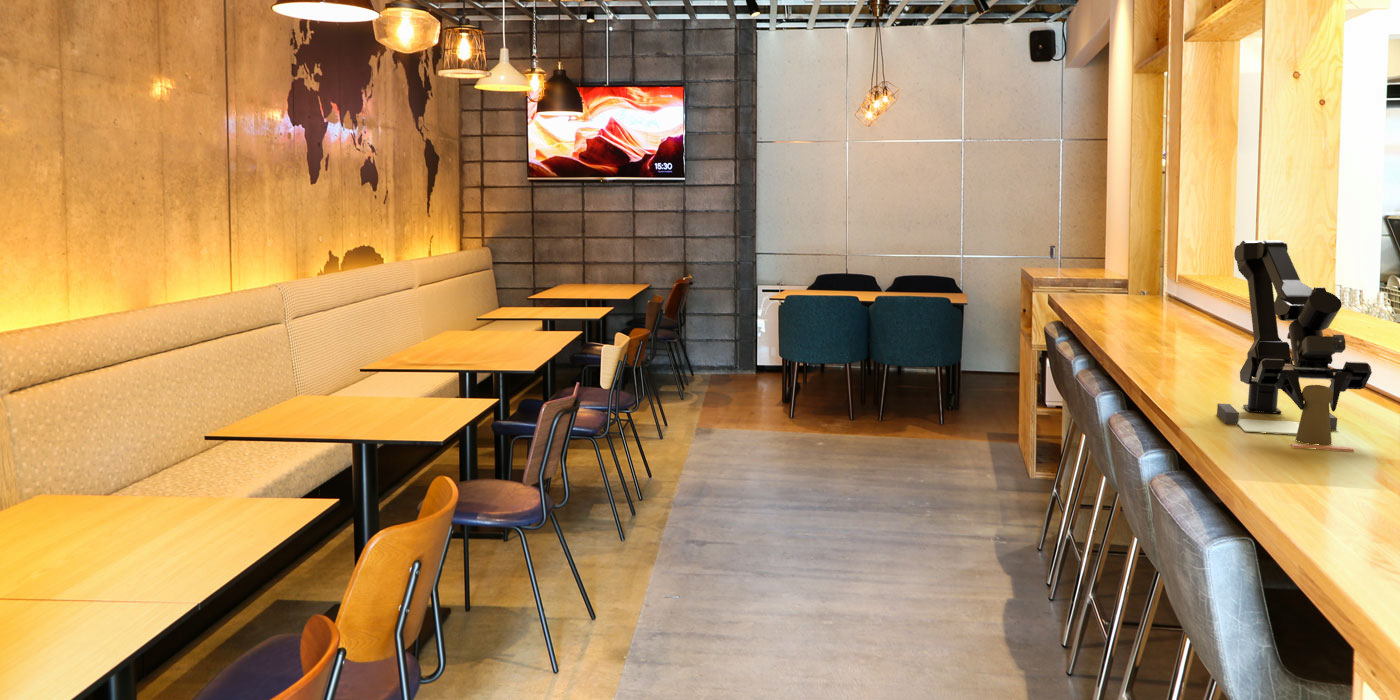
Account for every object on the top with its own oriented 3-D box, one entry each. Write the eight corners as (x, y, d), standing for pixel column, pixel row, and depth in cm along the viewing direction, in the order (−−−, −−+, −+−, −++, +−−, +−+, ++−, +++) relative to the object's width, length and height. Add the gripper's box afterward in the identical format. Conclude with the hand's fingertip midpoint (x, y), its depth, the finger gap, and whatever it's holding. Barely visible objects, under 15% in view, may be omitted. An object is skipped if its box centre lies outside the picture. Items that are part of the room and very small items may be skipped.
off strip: (1290, 445, 195) (1290, 443, 195) (1350, 449, 192) (1350, 447, 192) (1293, 448, 193) (1293, 445, 193) (1353, 451, 190) (1354, 449, 190)
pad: (1233, 420, 217) (1233, 418, 217) (1297, 423, 214) (1297, 421, 214) (1244, 432, 206) (1245, 430, 206) (1312, 436, 202) (1312, 434, 202)
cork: (1322, 438, 201) (1326, 383, 199) (1337, 445, 195) (1342, 388, 193) (1289, 437, 201) (1294, 382, 200) (1304, 444, 195) (1309, 388, 194)
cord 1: (1216, 414, 224) (1217, 403, 223) (1229, 414, 223) (1229, 404, 222) (1225, 423, 214) (1226, 412, 214) (1238, 424, 213) (1238, 413, 213)
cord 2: (1310, 419, 218) (1310, 407, 218) (1322, 419, 217) (1323, 408, 217) (1322, 428, 209) (1323, 417, 208) (1336, 429, 208) (1337, 418, 208)
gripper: (1263, 318, 201) (1272, 382, 192) (1373, 320, 196) (1387, 387, 187) (1252, 352, 210) (1260, 415, 201) (1356, 355, 204) (1369, 421, 195)
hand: (1318, 409), depth 196 cm, fingers closed on cork, 5 cm apart
